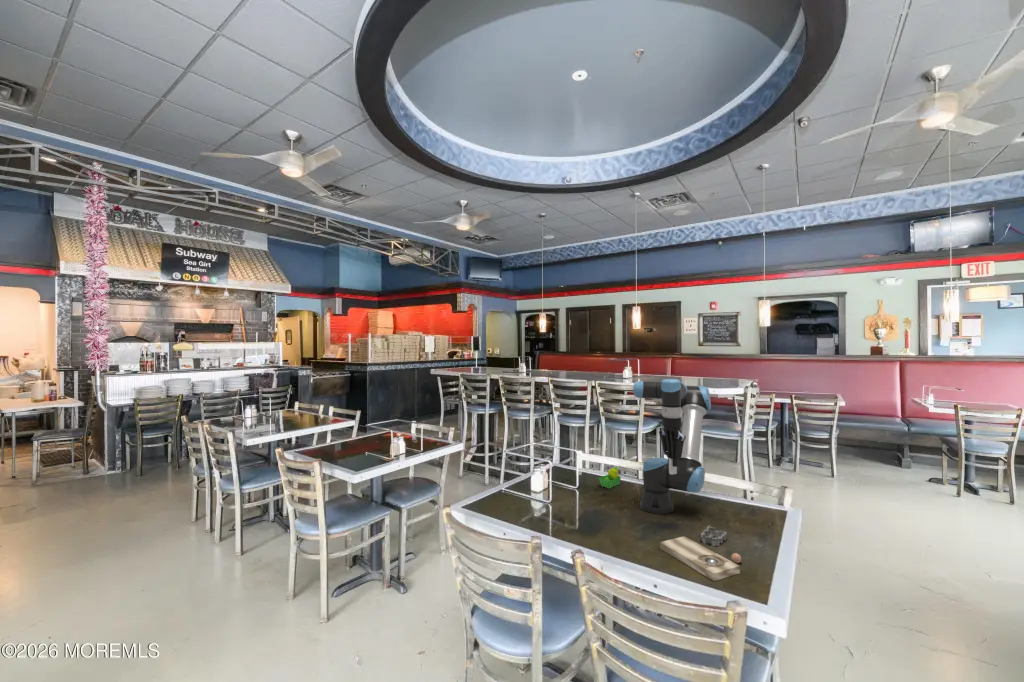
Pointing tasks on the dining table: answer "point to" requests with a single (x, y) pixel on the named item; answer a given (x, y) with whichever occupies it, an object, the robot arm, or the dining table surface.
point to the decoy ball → (736, 558)
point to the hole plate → (700, 558)
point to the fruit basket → (610, 478)
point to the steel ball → (711, 561)
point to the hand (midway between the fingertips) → (672, 473)
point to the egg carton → (713, 536)
